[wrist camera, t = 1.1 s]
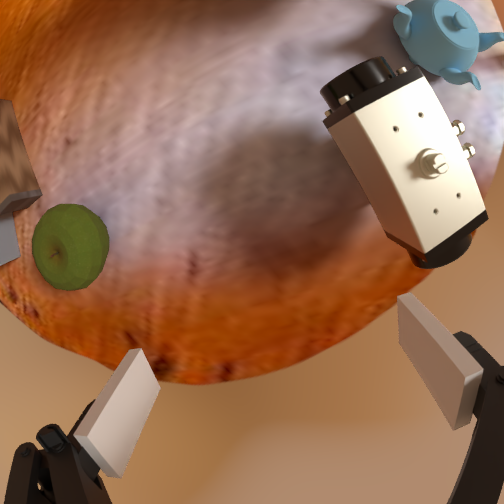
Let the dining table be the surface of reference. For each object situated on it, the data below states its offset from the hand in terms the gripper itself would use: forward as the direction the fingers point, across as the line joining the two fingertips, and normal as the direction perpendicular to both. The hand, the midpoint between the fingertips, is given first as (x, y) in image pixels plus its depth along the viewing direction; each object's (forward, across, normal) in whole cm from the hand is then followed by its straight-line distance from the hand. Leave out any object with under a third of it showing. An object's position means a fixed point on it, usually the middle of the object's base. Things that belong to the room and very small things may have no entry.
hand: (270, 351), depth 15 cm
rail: (+24, -34, +23) cm, 47 cm away
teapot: (+25, +28, +22) cm, 43 cm away
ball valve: (+25, +14, +6) cm, 29 cm away
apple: (+24, -23, +6) cm, 34 cm away
